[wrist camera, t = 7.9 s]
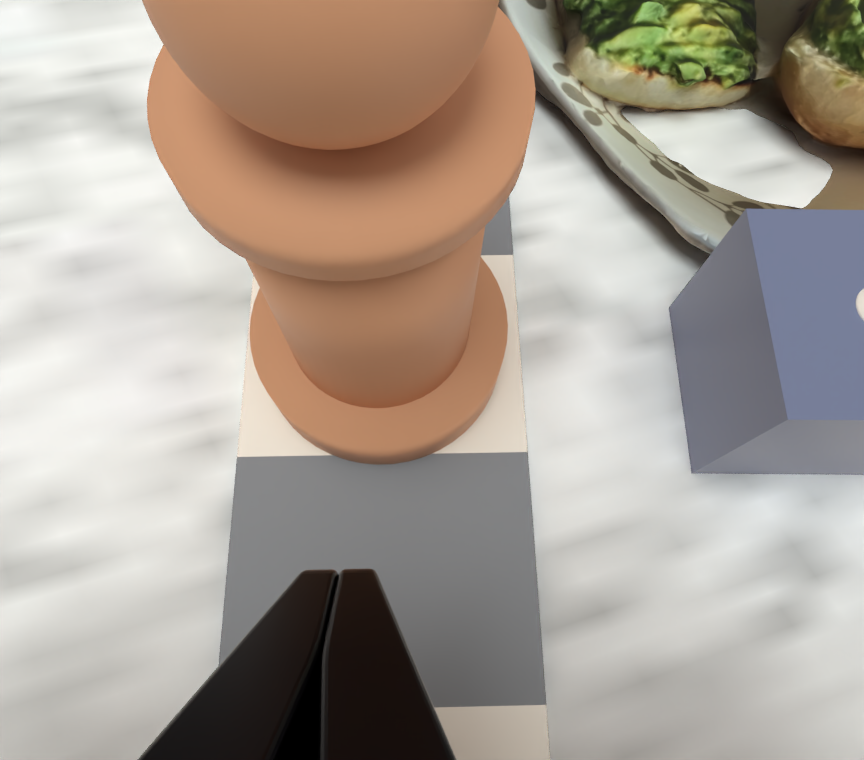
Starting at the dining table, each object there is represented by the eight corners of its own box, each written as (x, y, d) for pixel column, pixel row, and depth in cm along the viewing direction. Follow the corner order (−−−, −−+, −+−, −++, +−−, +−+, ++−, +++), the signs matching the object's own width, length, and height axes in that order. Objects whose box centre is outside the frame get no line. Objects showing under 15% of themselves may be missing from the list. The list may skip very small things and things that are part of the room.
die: (875, 475, 16) (1042, 420, 12) (690, 473, 16) (789, 418, 11) (836, 310, 17) (969, 209, 13) (667, 309, 17) (747, 206, 13)
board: (602, 1492, 10) (605, 1509, 10) (147, 1512, 10) (142, 1529, 10) (500, 101, 20) (501, 97, 19) (270, 103, 20) (268, 98, 19)
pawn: (546, 334, 17) (817, -306, 5) (398, 515, 15) (308, 168, 3) (371, 210, 18) (275, -523, 6) (216, 365, 16) (-288, -253, 5)
